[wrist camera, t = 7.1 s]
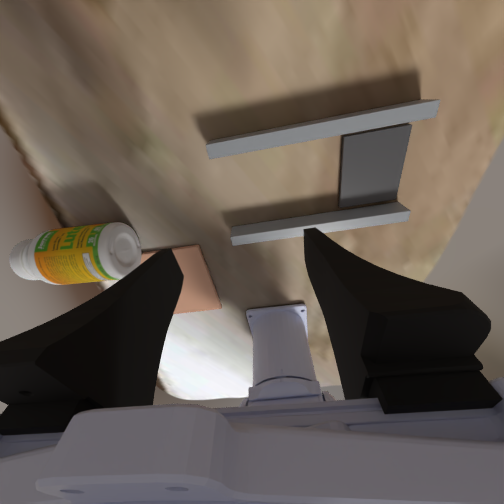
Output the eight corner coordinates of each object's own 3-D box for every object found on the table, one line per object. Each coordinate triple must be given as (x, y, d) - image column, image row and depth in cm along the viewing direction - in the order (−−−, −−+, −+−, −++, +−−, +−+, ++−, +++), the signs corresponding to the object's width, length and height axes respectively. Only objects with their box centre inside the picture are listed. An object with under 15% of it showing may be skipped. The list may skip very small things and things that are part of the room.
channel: (395, 211, 21) (407, 221, 19) (234, 235, 23) (232, 245, 21) (421, 99, 16) (440, 99, 14) (209, 140, 18) (205, 145, 16)
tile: (221, 306, 29) (221, 308, 29) (151, 314, 30) (150, 316, 30) (198, 244, 23) (198, 246, 23) (113, 256, 24) (111, 259, 24)
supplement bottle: (94, 240, 17) (-19, 252, 18) (125, 290, 20) (27, 299, 21) (128, 212, 21) (37, 222, 22) (149, 257, 24) (67, 265, 25)
